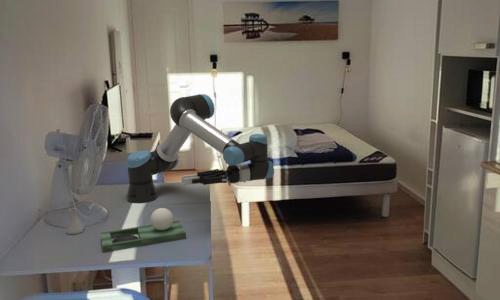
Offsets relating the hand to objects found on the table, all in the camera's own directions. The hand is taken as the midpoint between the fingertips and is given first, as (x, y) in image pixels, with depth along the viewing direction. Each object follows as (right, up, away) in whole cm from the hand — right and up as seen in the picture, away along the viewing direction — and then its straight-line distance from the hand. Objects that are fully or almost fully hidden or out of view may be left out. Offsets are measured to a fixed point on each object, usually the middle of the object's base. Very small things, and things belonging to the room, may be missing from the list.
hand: (182, 180), depth 193 cm
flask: (-47, -22, +9) cm, 52 cm away
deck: (-16, -23, 0) cm, 28 cm away
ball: (-8, -16, +1) cm, 18 cm away
